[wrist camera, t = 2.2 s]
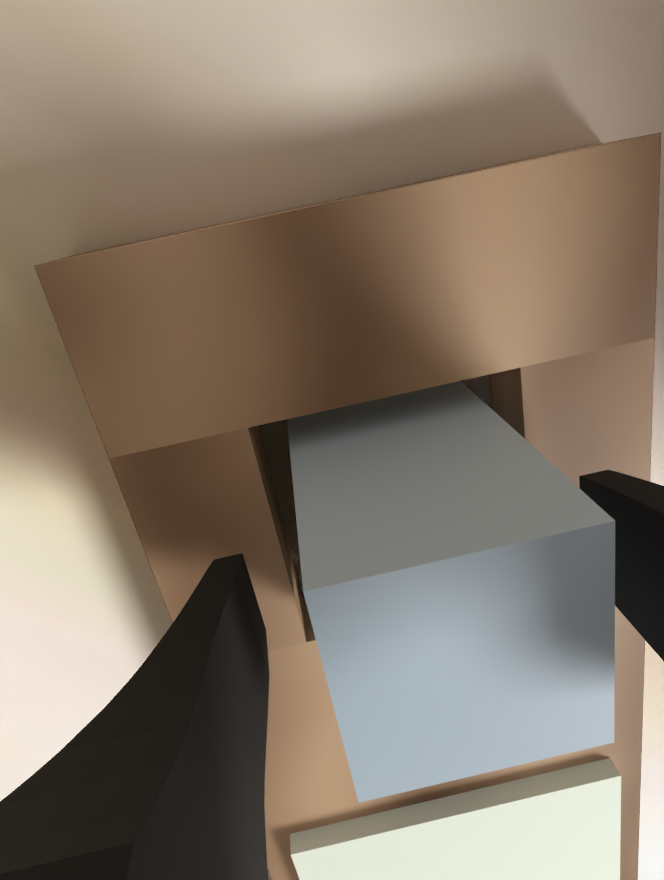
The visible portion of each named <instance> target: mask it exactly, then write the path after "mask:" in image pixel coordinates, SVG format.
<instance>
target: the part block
mask: <svg viewBox="0 0 664 880" xmlns="http://www.w3.org/2000/svg"><path fill="white" fill-rule="evenodd" d="M287 427H288V438H289V448H290V459H291V469H292V480H293V490H294V501H295V511H296V522H297V532H298V543H299V553H300V564H301V574H302V585H303V593H304V597H305V601H306V605H307V608H308V612H309V616H310V620H311V624H312V627H313V631H314V635H315V639H316V643H317V646H318V650H319V654H320V658H321V662H322V665H323V669H324V673H325V677H326V681H327V684H328V688H329V692H330V696H331V700H332V703H333V707H334V711H335V715H336V719H337V722H338V726H339V730H340V734H341V738H342V741H343V745H344V749H345V753H346V757H347V760H348V764H349V768H350V772H351V776H352V779H353V783H354V787H355V791H356V795H357V798H358V802H359V803H360V802H365V801H369V800H373V799H377V798H382V797H386V796H390V795H394V794H398V793H403V792H407V791H411V790H415V789H420V788H424V787H428V786H432V785H437V784H441V783H445V782H449V781H453V780H458V779H462V778H466V777H470V776H475V775H479V774H483V773H487V772H492V771H496V770H500V769H504V768H508V767H513V766H517V765H521V764H525V763H530V762H534V761H538V760H542V759H546V758H551V757H555V756H559V755H563V754H568V753H572V752H576V751H580V750H585V749H589V748H593V747H597V746H601V745H606V744H610V743H614V706H615V520H614V519H613V518H612V517H611V516H609V515H608V514H607V513H606V512H605V511H604V510H603V509H602V508H601V507H599V506H598V505H597V504H596V503H595V502H594V501H593V500H592V499H591V498H590V497H588V496H587V495H586V494H585V493H584V492H583V491H582V490H581V489H580V488H578V487H577V486H576V485H575V484H574V483H573V482H572V481H571V480H570V479H569V478H567V477H566V476H565V475H564V474H563V473H562V472H561V471H560V470H559V469H557V468H556V467H555V466H554V465H553V464H552V463H551V462H550V461H549V460H548V459H546V458H545V457H544V456H543V455H542V454H541V453H540V452H539V451H538V450H536V449H535V448H534V447H533V446H532V445H531V444H530V443H529V442H528V441H527V440H525V439H524V438H523V437H522V436H521V435H520V434H519V433H518V432H517V431H516V430H514V429H513V428H512V427H511V426H510V425H509V424H508V423H507V422H506V421H504V420H503V419H502V418H501V417H500V416H499V415H498V414H497V413H496V412H495V411H493V410H492V409H491V408H490V407H489V406H488V405H487V404H486V403H485V402H483V401H482V400H481V399H480V398H479V397H478V396H477V395H476V394H475V393H474V392H472V391H471V390H470V389H469V388H468V387H467V386H466V385H465V384H464V383H462V382H461V381H457V382H453V383H448V384H444V385H439V386H435V387H430V388H426V389H421V390H417V391H412V392H408V393H403V394H399V395H394V396H390V397H385V398H380V399H376V400H371V401H367V402H362V403H358V404H353V405H349V406H344V407H340V408H335V409H331V410H326V411H322V412H317V413H313V414H308V415H304V416H299V417H295V418H290V419H287Z"/></svg>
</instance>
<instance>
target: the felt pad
mask: <svg viewBox="0 0 664 880" xmlns="http://www.w3.org/2000/svg"><path fill="white" fill-rule="evenodd" d="M620 838H621V775H620V773H619V771H618V770H617V768H616V767H615V765H614V763H613V762H612V760H611V758H607V759H602V760H598V761H594V762H590V763H586V764H581V765H577V766H573V767H569V768H565V769H560V770H556V771H552V772H548V773H544V774H539V775H535V776H531V777H527V778H523V779H519V780H514V781H510V782H506V783H502V784H498V785H493V786H489V787H485V788H481V789H477V790H472V791H468V792H464V793H460V794H456V795H451V796H447V797H443V798H439V799H435V800H430V801H426V802H422V803H418V804H414V805H409V806H405V807H401V808H397V809H393V810H389V811H384V812H380V813H376V814H372V815H368V816H363V817H359V818H355V819H351V820H347V821H342V822H338V823H334V824H330V825H326V826H321V827H317V828H313V829H309V830H305V831H300V832H296V833H292V834H290V851H291V857H292V860H293V863H294V866H295V868H296V871H297V874H298V877H299V880H620Z"/></svg>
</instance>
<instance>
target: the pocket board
mask: <svg viewBox="0 0 664 880" xmlns="http://www.w3.org/2000/svg"><path fill="white" fill-rule="evenodd" d="M660 153H661V133H657V134H652V135H646V136H641V137H635V138H630V139H624V140H619V141H613V142H607V143H602V144H597V145H593V146H588V147H583V148H579V149H574V150H569V151H564V152H560V153H555V154H550V155H546V156H541V157H536V158H531V159H527V160H522V161H517V162H513V163H508V164H503V165H499V166H494V167H489V168H484V169H480V170H475V171H470V172H466V173H461V174H456V175H451V176H447V177H442V178H437V179H433V180H428V181H423V182H418V183H414V184H409V185H404V186H400V187H395V188H390V189H385V190H381V191H376V192H371V193H367V194H362V195H357V196H352V197H348V198H343V199H338V200H334V201H329V202H324V203H320V204H315V205H310V206H305V207H301V208H296V209H291V210H287V211H282V212H277V213H272V214H268V215H263V216H258V217H254V218H249V219H244V220H239V221H235V222H230V223H225V224H221V225H216V226H211V227H206V228H202V229H197V230H192V231H188V232H183V233H178V234H174V235H169V236H164V237H159V238H155V239H150V240H145V241H141V242H136V243H131V244H126V245H122V246H117V247H112V248H108V249H103V250H98V251H93V252H89V253H84V254H79V255H75V256H70V257H66V258H62V259H58V260H55V261H51V262H47V263H43V264H40V265H36V266H34V267H35V269H36V272H37V274H38V277H39V280H40V282H41V285H42V287H43V290H44V292H45V295H46V298H47V300H48V303H49V305H50V308H51V310H52V313H53V316H54V318H55V321H56V323H57V326H58V329H59V331H60V334H61V336H62V339H63V341H64V344H65V347H66V349H67V352H68V354H69V357H70V360H71V362H72V365H73V367H74V370H75V372H76V375H77V378H78V380H79V383H80V385H81V388H82V390H83V393H84V396H85V398H86V401H87V403H88V406H89V409H90V411H91V414H92V416H93V419H94V421H95V424H96V427H97V429H98V432H99V434H100V437H101V440H102V442H103V445H104V447H105V450H106V452H107V455H108V458H109V460H110V463H111V465H112V468H113V470H114V473H115V476H116V478H117V481H118V483H119V486H120V489H121V491H122V494H123V496H124V499H125V501H126V504H127V507H128V509H129V512H130V514H131V517H132V520H133V522H134V525H135V527H136V530H137V532H138V535H139V538H140V540H141V543H142V545H143V548H144V550H145V553H146V556H147V558H148V561H149V563H150V566H151V569H152V571H153V574H154V576H155V579H156V581H157V584H158V587H159V589H160V592H161V594H162V597H163V600H164V602H165V605H166V607H167V610H168V612H169V615H170V618H171V620H172V623H173V622H174V621H175V619H176V618H177V616H178V614H179V613H180V611H181V610H182V608H183V607H184V605H185V604H186V602H187V601H188V599H189V598H190V596H191V594H192V593H193V591H194V590H195V588H196V586H197V585H198V583H199V582H200V580H201V578H202V577H203V575H204V574H205V572H206V570H207V569H208V567H209V566H210V564H211V563H212V561H213V560H214V559H219V558H223V557H227V556H232V555H236V554H241V553H243V556H244V560H245V563H246V566H247V569H248V573H249V576H250V579H251V582H252V586H253V589H254V592H255V595H256V599H257V602H258V605H259V608H260V612H261V615H262V618H263V621H264V625H265V628H266V635H267V647H268V660H269V674H270V675H269V700H268V722H267V742H266V763H265V797H264V808H265V829H266V850H267V868H268V870H269V873H270V876H271V878H272V880H299V877H298V874H297V871H296V868H295V866H294V863H293V860H292V857H291V851H290V834H292V833H296V832H300V831H305V830H309V829H313V828H317V827H321V826H326V825H330V824H334V823H338V822H342V821H347V820H351V819H355V818H359V817H363V816H368V815H372V814H376V813H380V812H384V811H389V810H393V809H397V808H401V807H405V806H409V805H414V804H418V803H422V802H426V801H430V800H435V799H439V798H443V797H447V796H451V795H456V794H460V793H464V792H468V791H472V790H477V789H481V788H485V787H489V786H493V785H498V784H502V783H506V782H510V781H514V780H519V779H523V778H527V777H531V776H535V775H539V774H544V773H548V772H552V771H556V770H560V769H565V768H569V767H573V766H577V765H581V764H586V763H590V762H594V761H598V760H602V759H607V758H611V760H612V762H613V763H614V765H615V767H616V768H617V770H618V771H619V773H620V775H621V838H620V880H637V878H638V847H639V815H640V783H641V752H642V720H643V689H644V657H645V639H644V638H643V637H642V636H641V635H640V634H639V632H638V631H637V630H636V629H635V628H634V627H633V626H632V624H631V623H630V622H629V621H628V620H627V619H626V617H625V616H624V615H623V614H622V613H621V612H620V611H619V609H618V608H617V607H616V606H615V706H614V743H610V744H606V745H601V746H597V747H593V748H589V749H585V750H580V751H576V752H572V753H568V754H563V755H559V756H555V757H551V758H546V759H542V760H538V761H534V762H530V763H525V764H521V765H517V766H513V767H508V768H504V769H500V770H496V771H492V772H487V773H483V774H479V775H475V776H470V777H466V778H462V779H458V780H453V781H449V782H445V783H441V784H437V785H432V786H428V787H424V788H420V789H415V790H411V791H407V792H403V793H398V794H394V795H390V796H386V797H382V798H377V799H373V800H369V801H365V802H360V803H359V802H358V798H357V795H356V791H355V787H354V783H353V779H352V776H351V772H350V768H349V764H348V760H347V757H346V753H345V749H344V745H343V741H342V738H341V734H340V730H339V726H338V722H337V719H336V715H335V711H334V707H333V703H332V700H331V696H330V692H329V688H328V684H327V681H326V677H325V673H324V669H323V665H322V662H321V658H320V654H319V650H318V646H317V643H316V639H315V635H314V631H313V627H312V624H311V620H310V616H309V612H308V608H307V605H306V601H305V597H304V593H302V592H301V588H300V584H299V581H298V577H297V573H296V569H295V566H294V562H293V558H292V554H291V551H290V547H289V543H288V539H287V536H286V532H285V528H284V524H283V521H282V517H281V513H280V509H279V506H278V502H277V498H276V494H275V490H274V487H273V483H272V479H271V475H270V472H269V468H268V464H267V460H266V457H265V453H264V449H263V445H262V442H261V438H260V434H259V430H258V427H257V426H258V425H263V424H267V423H272V422H276V421H281V420H285V419H290V418H295V417H299V416H304V415H308V414H313V413H317V412H322V411H326V410H331V409H335V408H340V407H344V406H349V405H353V404H358V403H362V402H367V401H371V400H376V399H380V398H385V397H390V396H394V395H399V394H403V393H408V392H412V391H417V390H421V389H426V388H430V387H435V386H439V385H444V384H448V383H453V382H457V381H462V380H466V379H471V378H475V377H480V376H485V375H489V374H490V381H491V393H492V404H493V411H495V412H496V413H497V414H498V415H499V416H500V417H501V418H502V419H503V420H504V421H506V422H507V423H508V424H509V425H510V426H511V427H512V428H513V429H514V430H516V431H517V432H518V433H519V434H520V435H521V436H522V437H523V438H524V439H525V440H527V441H528V442H529V443H530V444H531V445H532V446H533V447H534V448H535V449H536V450H538V451H539V452H540V453H541V454H542V455H543V456H544V457H545V458H546V459H548V460H549V461H550V462H551V463H552V464H553V465H554V466H555V467H556V468H557V469H559V470H560V471H561V472H562V473H563V474H564V475H565V476H566V477H567V478H569V479H570V480H571V481H572V482H573V483H574V484H575V485H576V486H577V487H578V488H580V485H579V476H582V475H586V474H590V473H595V472H599V471H604V470H611V471H616V472H620V473H623V474H627V475H630V476H633V477H637V478H640V479H643V480H646V481H649V482H650V468H651V436H652V405H653V373H654V342H655V310H656V279H657V247H658V216H659V184H660Z"/></svg>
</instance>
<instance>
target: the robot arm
mask: <svg viewBox="0 0 664 880" xmlns="http://www.w3.org/2000/svg"><path fill="white" fill-rule="evenodd" d="M579 485H580V489H581V490H582V491H583V492H584V493H585V494H586V495H587V496H588V497H590V498H591V499H592V500H593V501H594V502H595V503H596V504H597V505H598V506H599V507H601V508H602V509H603V510H604V511H605V512H606V513H607V514H608V515H609V516H611V517H612V518H613V519H614V520H615V606H616V607H617V608H618V609H619V611H620V612H621V613H622V614H623V615H624V616H625V617H626V619H627V620H628V621H629V622H630V623H631V624H632V626H633V627H634V628H635V629H636V630H637V631H638V632H639V634H640V635H641V636H642V637H643V638H644V639H645V640H646V641H647V643H648V644H649V645H650V646H651V647H652V648H653V649H654V651H655V652H656V653H657V654H658V655H659V656H660V657H661V658H662V660H663V661H664V486H661V485H658V484H655V483H652V482H649V481H646V480H643V479H640V478H637V477H633V476H630V475H627V474H623V473H620V472H616V471H611V470H604V471H599V472H595V473H590V474H586V475H582V476H579ZM269 675H270V674H269V660H268V647H267V635H266V628H265V625H264V621H263V618H262V615H261V612H260V608H259V605H258V602H257V599H256V595H255V592H254V589H253V586H252V582H251V579H250V576H249V573H248V569H247V566H246V563H245V560H244V556H243V553H241V554H236V555H232V556H227V557H223V558H219V559H214V560H213V561H212V563H211V564H210V566H209V567H208V569H207V570H206V572H205V574H204V575H203V577H202V578H201V580H200V582H199V583H198V585H197V586H196V588H195V590H194V591H193V593H192V594H191V596H190V598H189V599H188V601H187V602H186V604H185V605H184V607H183V608H182V610H181V611H180V613H179V614H178V616H177V618H176V619H175V621H174V622H173V624H172V625H171V627H170V628H169V629H168V631H167V632H166V634H165V635H164V636H163V638H162V639H161V640H160V642H159V643H158V645H157V646H156V647H155V649H154V650H153V651H152V653H151V654H150V655H149V657H148V658H147V659H146V661H145V662H144V663H143V664H142V666H141V667H140V668H139V669H138V671H137V672H136V673H135V674H134V675H133V677H132V678H131V679H130V680H129V681H128V682H127V684H126V685H125V686H124V687H123V688H122V689H121V690H120V691H119V692H118V694H117V695H116V696H115V697H114V698H113V699H112V700H111V701H110V702H109V704H108V705H107V706H106V707H105V708H104V709H103V710H102V711H101V712H100V713H99V714H98V715H97V716H96V717H95V718H94V719H93V720H92V721H91V722H90V723H89V724H88V725H87V726H86V727H84V728H83V729H82V730H81V731H80V732H79V733H78V734H77V735H76V736H75V737H74V738H73V739H72V740H71V741H70V742H69V743H68V744H67V745H66V746H65V747H64V748H63V749H62V750H61V751H60V752H59V753H57V754H56V755H55V756H54V757H53V758H52V759H51V760H50V761H48V762H47V763H46V764H45V765H44V766H43V767H42V768H40V769H39V770H38V771H37V772H36V773H35V774H33V775H32V776H31V777H30V778H29V779H27V780H26V781H25V782H24V783H23V784H21V785H20V786H19V787H18V788H17V789H15V790H14V791H13V792H12V793H11V794H9V795H8V796H7V797H6V798H4V799H3V800H2V801H1V802H0V880H268V869H267V850H266V829H265V808H264V797H265V763H266V742H267V722H268V700H269Z"/></svg>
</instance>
